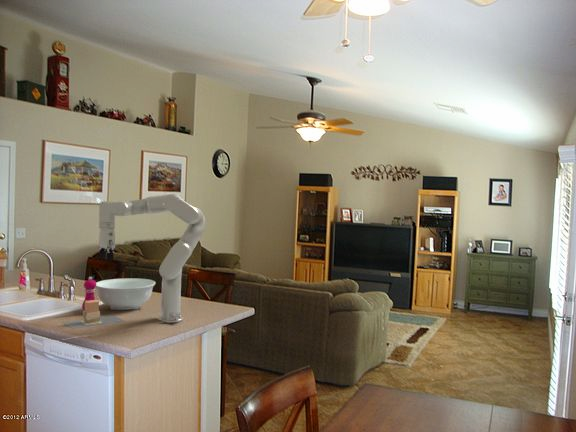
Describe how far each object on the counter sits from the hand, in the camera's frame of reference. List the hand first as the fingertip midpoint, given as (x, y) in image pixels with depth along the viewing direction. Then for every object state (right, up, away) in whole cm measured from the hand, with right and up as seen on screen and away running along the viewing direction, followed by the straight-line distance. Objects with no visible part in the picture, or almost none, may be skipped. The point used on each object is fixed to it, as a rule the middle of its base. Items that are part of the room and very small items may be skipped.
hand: (106, 259), depth 244 cm
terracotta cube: (-3, -24, -10) cm, 26 cm away
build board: (-3, -31, -9) cm, 32 cm away
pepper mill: (-12, -30, +9) cm, 33 cm away
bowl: (+1, -30, +26) cm, 39 cm away
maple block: (-4, -29, -10) cm, 31 cm away
